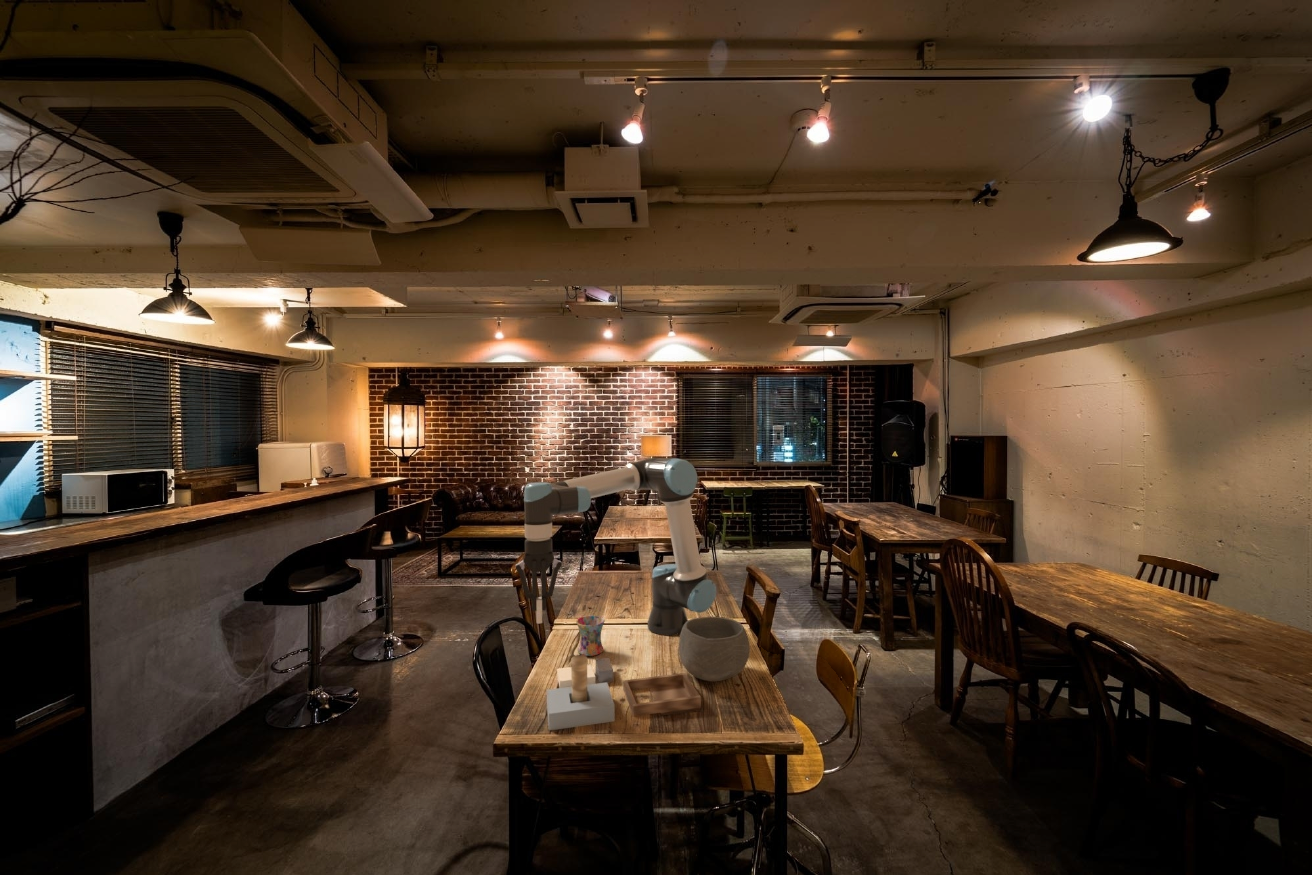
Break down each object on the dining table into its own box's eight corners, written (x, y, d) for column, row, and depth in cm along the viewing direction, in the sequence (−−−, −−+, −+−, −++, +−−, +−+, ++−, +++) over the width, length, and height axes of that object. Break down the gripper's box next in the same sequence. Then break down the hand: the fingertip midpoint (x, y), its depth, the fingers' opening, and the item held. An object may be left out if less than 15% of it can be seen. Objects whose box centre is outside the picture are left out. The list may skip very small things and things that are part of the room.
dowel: (586, 707, 135) (586, 654, 135) (588, 715, 131) (587, 660, 131) (571, 709, 134) (570, 655, 134) (572, 717, 131) (571, 662, 130)
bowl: (751, 664, 162) (751, 616, 162) (747, 697, 142) (747, 643, 142) (685, 657, 167) (684, 611, 167) (672, 689, 147) (672, 636, 147)
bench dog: (608, 672, 157) (608, 657, 157) (613, 685, 149) (613, 669, 149) (595, 674, 156) (595, 659, 156) (599, 686, 148) (599, 671, 148)
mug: (600, 659, 166) (600, 626, 166) (572, 657, 168) (572, 624, 167) (609, 644, 178) (609, 613, 178) (583, 642, 179) (583, 611, 179)
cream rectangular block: (590, 675, 156) (590, 664, 156) (595, 688, 148) (595, 676, 148) (557, 680, 153) (557, 668, 153) (559, 693, 145) (559, 681, 145)
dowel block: (607, 700, 141) (607, 682, 141) (614, 724, 129) (614, 704, 129) (546, 708, 137) (546, 689, 137) (548, 734, 125) (548, 713, 125)
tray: (684, 684, 149) (684, 672, 149) (700, 710, 136) (700, 697, 136) (623, 692, 145) (623, 680, 145) (633, 719, 131) (633, 706, 131)
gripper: (561, 534, 151) (561, 614, 151) (514, 536, 148) (515, 619, 148) (563, 539, 144) (563, 624, 144) (514, 542, 140) (515, 628, 141)
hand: (539, 621), depth 146 cm, fingers closed
